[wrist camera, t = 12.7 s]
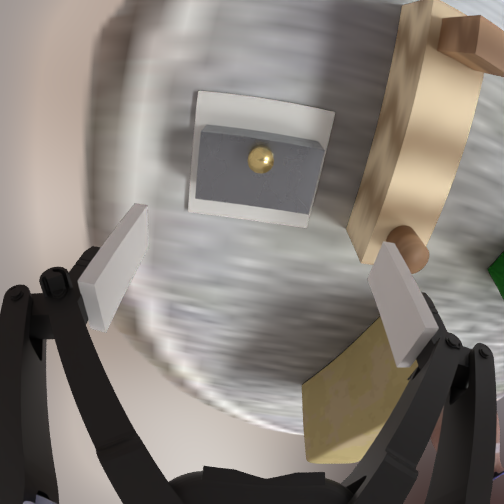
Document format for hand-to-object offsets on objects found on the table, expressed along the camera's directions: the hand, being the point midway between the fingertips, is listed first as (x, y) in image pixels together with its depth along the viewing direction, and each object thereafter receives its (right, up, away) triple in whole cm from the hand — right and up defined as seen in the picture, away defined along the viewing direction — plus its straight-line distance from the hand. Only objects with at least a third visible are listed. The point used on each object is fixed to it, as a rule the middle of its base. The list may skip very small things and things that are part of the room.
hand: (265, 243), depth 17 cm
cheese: (+15, -15, +27) cm, 35 cm away
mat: (0, +8, +11) cm, 14 cm away
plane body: (+14, +11, +9) cm, 20 cm away
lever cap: (0, +8, +11) cm, 13 cm away
